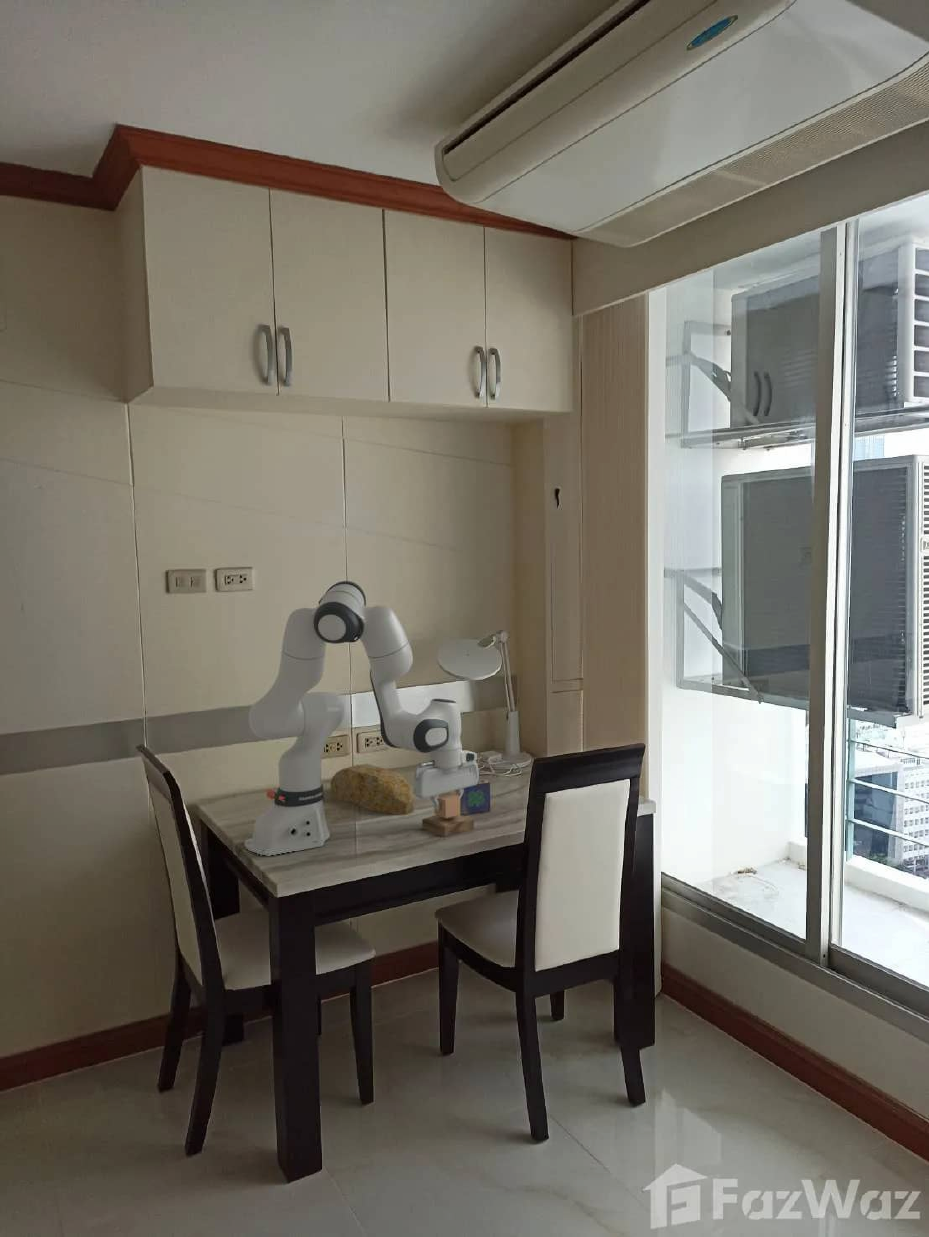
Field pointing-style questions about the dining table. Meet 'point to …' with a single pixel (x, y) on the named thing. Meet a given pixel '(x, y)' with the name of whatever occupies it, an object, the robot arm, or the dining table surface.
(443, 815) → the terracotta block
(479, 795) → the flask
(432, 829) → the walnut plinth
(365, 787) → the bread
